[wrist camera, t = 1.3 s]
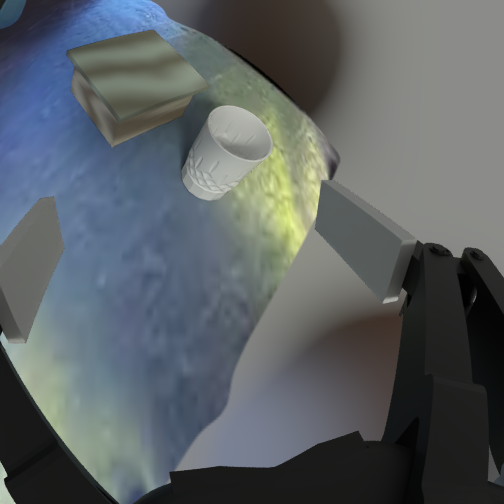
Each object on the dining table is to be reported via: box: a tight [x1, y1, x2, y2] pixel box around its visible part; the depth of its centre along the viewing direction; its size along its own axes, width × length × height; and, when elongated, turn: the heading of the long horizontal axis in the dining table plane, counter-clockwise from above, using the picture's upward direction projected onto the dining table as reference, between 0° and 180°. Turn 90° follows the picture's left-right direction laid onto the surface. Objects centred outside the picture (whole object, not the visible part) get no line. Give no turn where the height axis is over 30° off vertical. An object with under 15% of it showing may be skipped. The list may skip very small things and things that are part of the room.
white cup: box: [181, 105, 273, 201], centre depth 37 cm, size 8×8×10 cm
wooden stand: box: [67, 30, 210, 147], centre depth 36 cm, size 14×14×7 cm
